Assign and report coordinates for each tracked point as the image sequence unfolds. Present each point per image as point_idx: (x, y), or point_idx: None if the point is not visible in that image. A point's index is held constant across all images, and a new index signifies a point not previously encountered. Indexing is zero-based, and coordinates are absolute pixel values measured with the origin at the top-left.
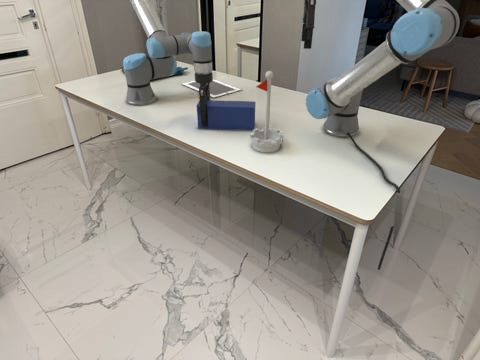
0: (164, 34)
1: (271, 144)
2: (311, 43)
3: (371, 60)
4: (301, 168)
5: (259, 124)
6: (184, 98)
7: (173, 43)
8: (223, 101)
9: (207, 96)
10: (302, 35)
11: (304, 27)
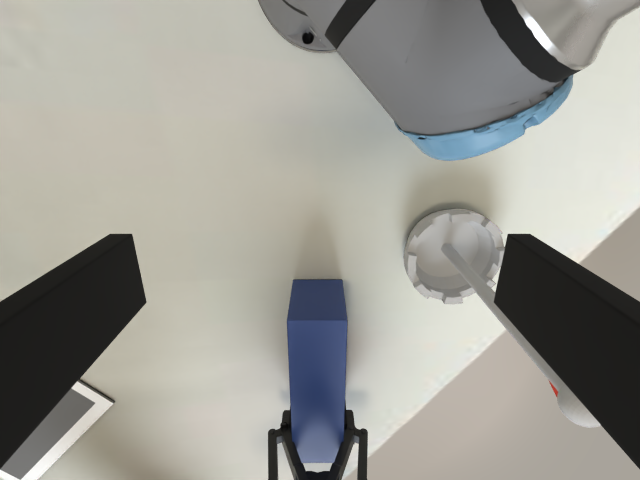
0: None
1: (502, 243)
2: (563, 257)
3: None
4: (579, 153)
5: (296, 266)
6: (139, 463)
7: None
8: (299, 407)
9: (340, 466)
10: (112, 333)
11: None
